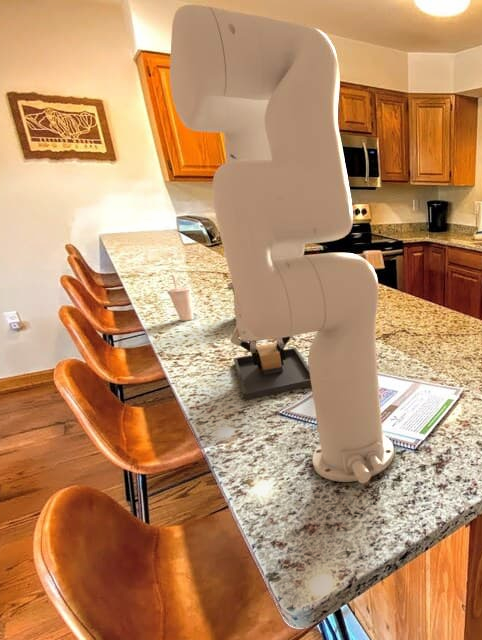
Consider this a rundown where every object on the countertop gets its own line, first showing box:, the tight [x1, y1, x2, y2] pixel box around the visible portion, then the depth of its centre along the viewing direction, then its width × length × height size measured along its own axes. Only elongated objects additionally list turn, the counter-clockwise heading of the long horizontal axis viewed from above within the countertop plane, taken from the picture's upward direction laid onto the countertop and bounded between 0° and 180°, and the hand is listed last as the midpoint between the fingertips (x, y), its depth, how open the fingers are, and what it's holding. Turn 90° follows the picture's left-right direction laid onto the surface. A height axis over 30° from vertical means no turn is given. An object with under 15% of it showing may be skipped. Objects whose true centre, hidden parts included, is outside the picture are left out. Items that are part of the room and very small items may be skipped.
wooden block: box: [256, 343, 283, 375], centre depth 97 cm, size 7×4×4 cm, turn 30°
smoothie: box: [166, 274, 195, 322], centre depth 133 cm, size 6×6×14 cm
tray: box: [233, 347, 312, 402], centre depth 95 cm, size 21×14×2 cm
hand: (270, 364), depth 98 cm, fingers closed on wooden block, 4 cm apart
